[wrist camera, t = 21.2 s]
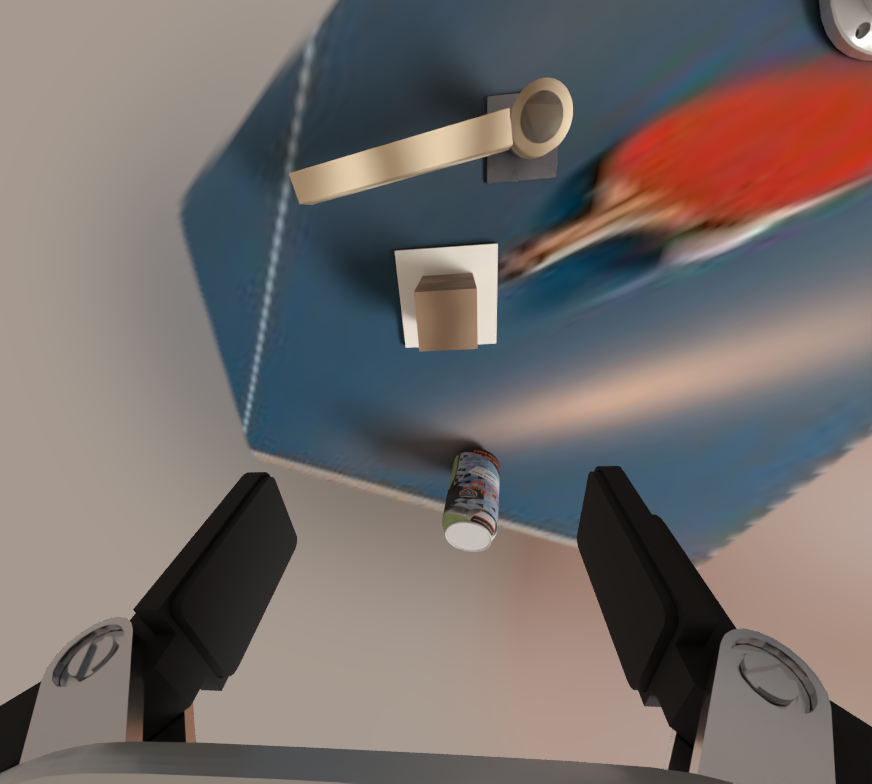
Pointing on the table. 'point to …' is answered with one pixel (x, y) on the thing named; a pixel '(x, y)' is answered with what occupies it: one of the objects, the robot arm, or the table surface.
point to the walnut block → (446, 312)
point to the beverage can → (472, 501)
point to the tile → (450, 262)
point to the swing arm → (447, 146)
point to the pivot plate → (510, 166)
